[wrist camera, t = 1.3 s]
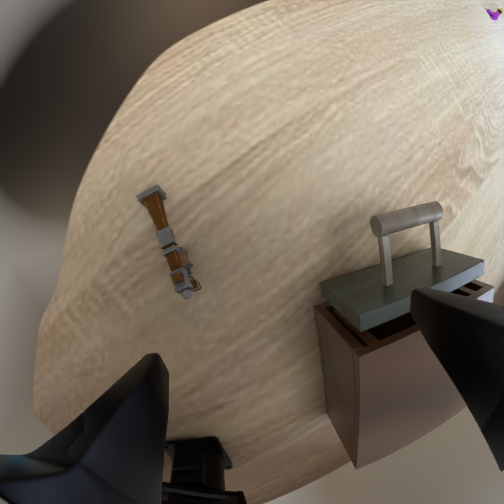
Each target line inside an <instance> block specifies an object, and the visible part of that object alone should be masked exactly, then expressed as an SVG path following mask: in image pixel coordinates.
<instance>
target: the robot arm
mask: <svg viewBox="0 0 504 504" xmlns="http://www.w3.org/2000/svg"><path fill="white" fill-rule="evenodd" d="M410 313H411V315H412V317H413V319H414V321H415V322H416V324H417V326H418V328H419V329H420V331H421V333H422V335H423V337H424V339H425V340H426V342H427V344H428V345H429V347H430V349H431V350H432V352H433V353H434V354H435V356H436V357H437V359H438V360H439V362H440V363H441V365H442V366H443V368H444V369H445V371H446V372H447V374H448V376H449V377H450V379H451V380H452V382H453V383H454V385H455V387H456V388H457V390H458V391H459V393H460V395H461V396H462V398H463V400H464V401H465V403H466V405H467V407H468V408H469V410H470V412H471V413H472V415H473V417H474V419H475V421H476V422H477V424H478V426H479V428H480V429H481V432H482V434H483V436H484V438H485V440H486V442H487V444H488V446H489V448H490V450H491V452H492V454H493V455H494V458H495V460H496V462H497V464H498V467H499V469H500V470H501V471H503V470H504V306H503V305H501V306H500V305H499V304H495V303H491V302H486V301H482V300H478V299H474V298H470V297H466V296H461V295H457V294H453V293H449V292H445V291H440V290H436V289H432V288H428V287H424V286H420V287H417V288H415V289H413V290H412V292H411V301H410ZM168 412H169V373H168V370H167V368H166V366H165V364H164V362H163V360H162V358H161V357H160V355H159V354H158V353H151V354H146V355H145V356H144V357H143V358H142V359H141V360H140V361H139V362H137V363H136V364H135V365H134V366H133V367H132V368H131V369H130V370H129V371H128V372H127V373H125V374H124V375H123V376H122V377H121V378H120V379H119V380H118V381H117V382H116V383H114V384H113V385H112V386H111V387H110V388H109V389H108V390H107V391H106V392H105V393H104V394H102V395H101V396H100V397H99V398H98V399H97V400H96V401H95V402H94V403H93V404H91V405H90V406H89V407H88V408H87V409H86V410H85V411H84V412H83V413H81V414H80V415H79V416H78V417H77V418H76V419H75V420H74V421H72V422H71V423H70V424H69V425H68V426H67V427H65V428H64V429H63V430H62V431H60V432H59V433H58V434H56V435H55V436H54V437H52V438H51V439H50V440H48V441H47V442H46V443H44V444H43V445H42V446H40V447H39V448H38V449H36V450H35V451H33V452H31V453H29V454H25V455H1V454H0V504H247V503H246V500H245V496H244V493H243V491H237V492H234V491H225V479H224V470H226V469H231V468H232V463H231V461H230V459H229V458H228V456H227V454H226V452H225V450H224V449H223V447H222V445H221V443H220V441H219V439H218V438H216V437H210V438H202V439H194V440H184V441H172V442H165V441H166V431H167V422H168ZM165 451H166V452H167V454H168V455H169V456H170V458H171V459H172V460H173V463H172V471H171V480H170V483H167V482H162V477H163V463H164V452H165Z"/></svg>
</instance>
